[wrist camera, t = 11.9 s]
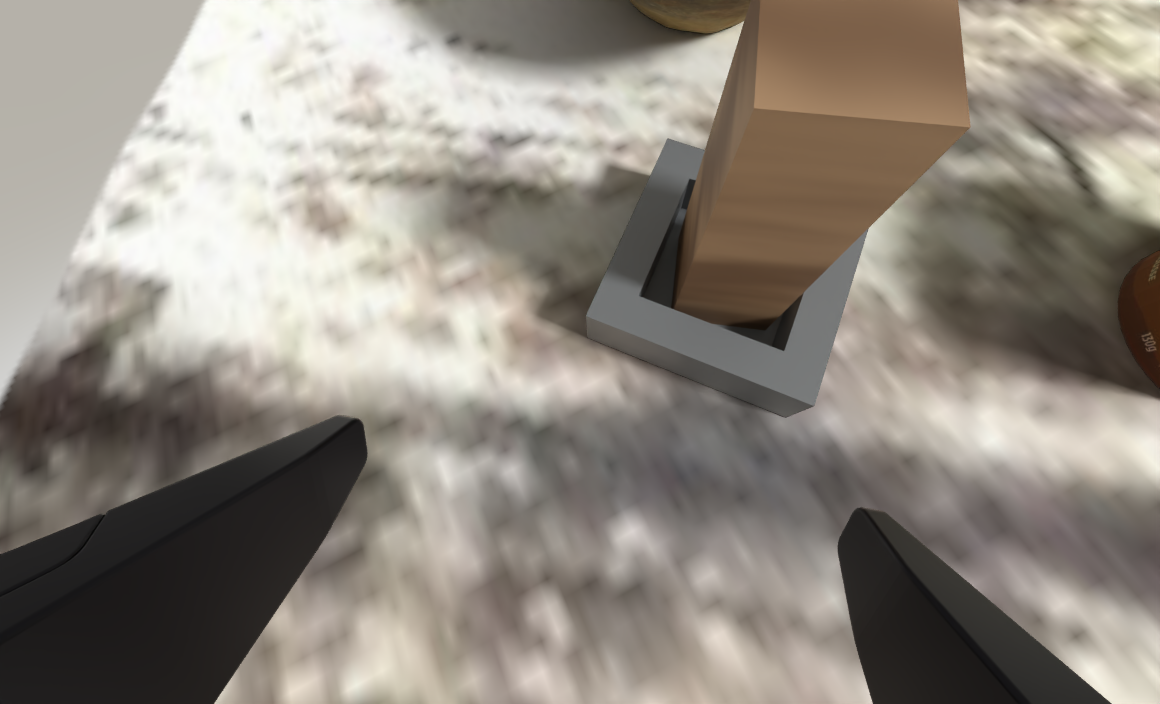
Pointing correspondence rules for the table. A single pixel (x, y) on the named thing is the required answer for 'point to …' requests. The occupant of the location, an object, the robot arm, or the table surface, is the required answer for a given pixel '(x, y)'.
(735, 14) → the bowl
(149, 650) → the robot arm
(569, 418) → the table surface
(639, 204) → the socket
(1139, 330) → the food container
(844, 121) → the tall wooden post
